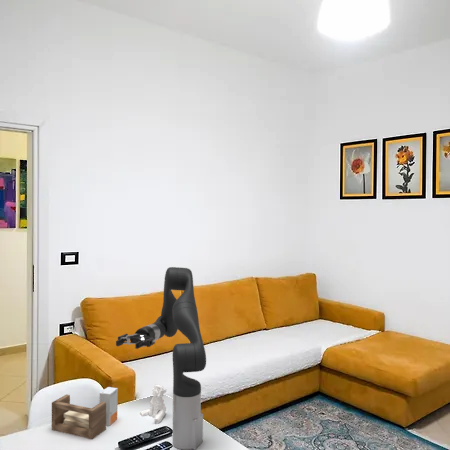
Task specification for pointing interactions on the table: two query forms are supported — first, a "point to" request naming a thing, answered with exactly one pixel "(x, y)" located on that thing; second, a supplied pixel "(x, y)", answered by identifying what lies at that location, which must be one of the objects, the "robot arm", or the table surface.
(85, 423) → the offcut stack
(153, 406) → the sitting furry creature
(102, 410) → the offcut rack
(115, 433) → the table surface
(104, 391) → the skincare box
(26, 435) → the table surface
